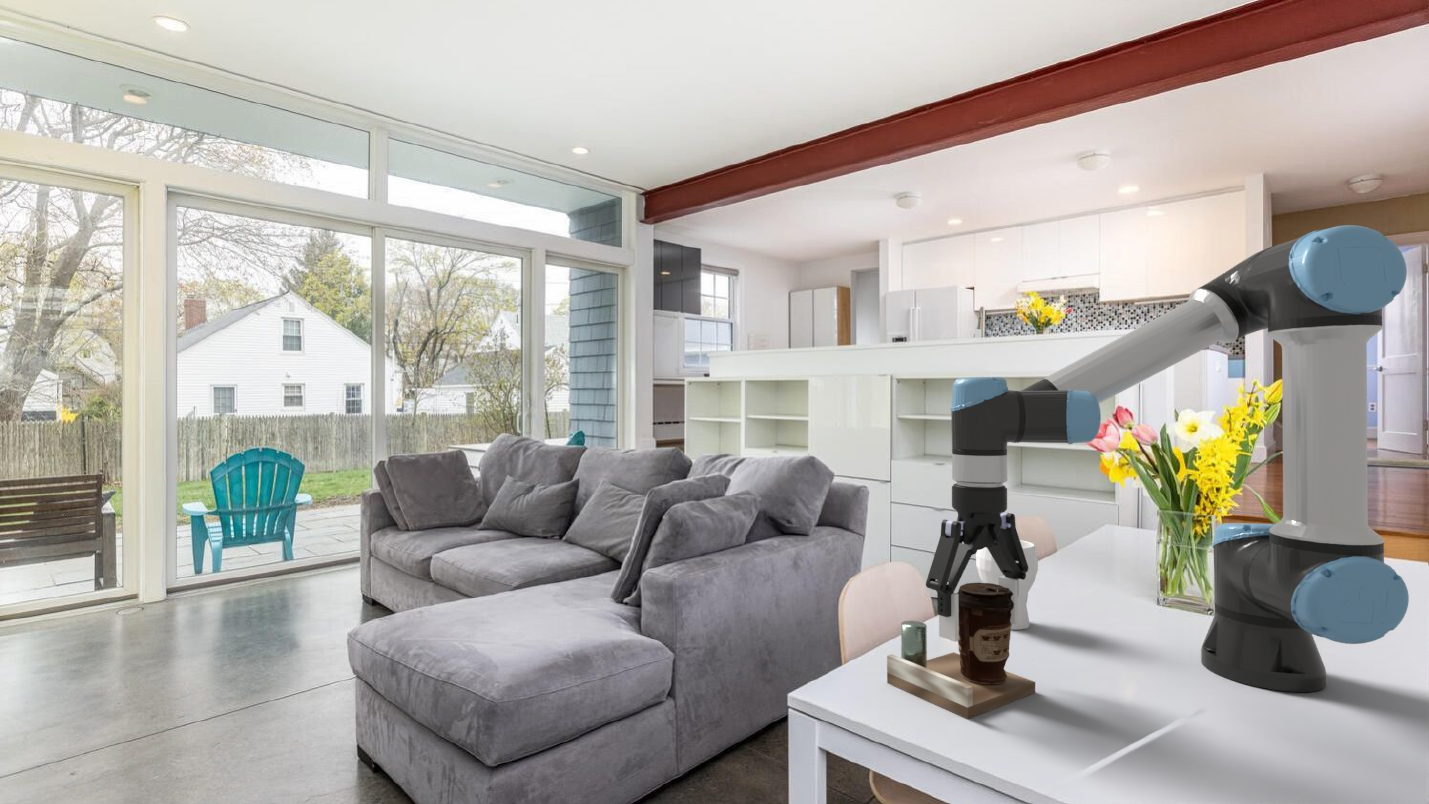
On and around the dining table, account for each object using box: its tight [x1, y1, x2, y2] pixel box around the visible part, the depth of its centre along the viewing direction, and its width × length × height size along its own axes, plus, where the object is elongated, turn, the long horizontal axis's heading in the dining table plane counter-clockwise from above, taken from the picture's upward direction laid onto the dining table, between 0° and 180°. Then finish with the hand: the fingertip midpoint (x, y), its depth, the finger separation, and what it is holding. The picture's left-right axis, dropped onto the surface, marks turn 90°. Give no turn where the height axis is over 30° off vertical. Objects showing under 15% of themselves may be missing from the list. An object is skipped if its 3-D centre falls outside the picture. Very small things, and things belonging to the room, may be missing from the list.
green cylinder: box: [900, 620, 928, 668], centre depth 103 cm, size 4×4×7 cm
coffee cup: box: [956, 582, 1014, 684], centre depth 100 cm, size 9×8×13 cm
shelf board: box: [886, 652, 1036, 720], centre depth 101 cm, size 14×15×4 cm
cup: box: [975, 539, 1039, 631], centre depth 129 cm, size 11×11×15 cm
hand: (979, 629), depth 101 cm, fingers open, 13 cm apart
